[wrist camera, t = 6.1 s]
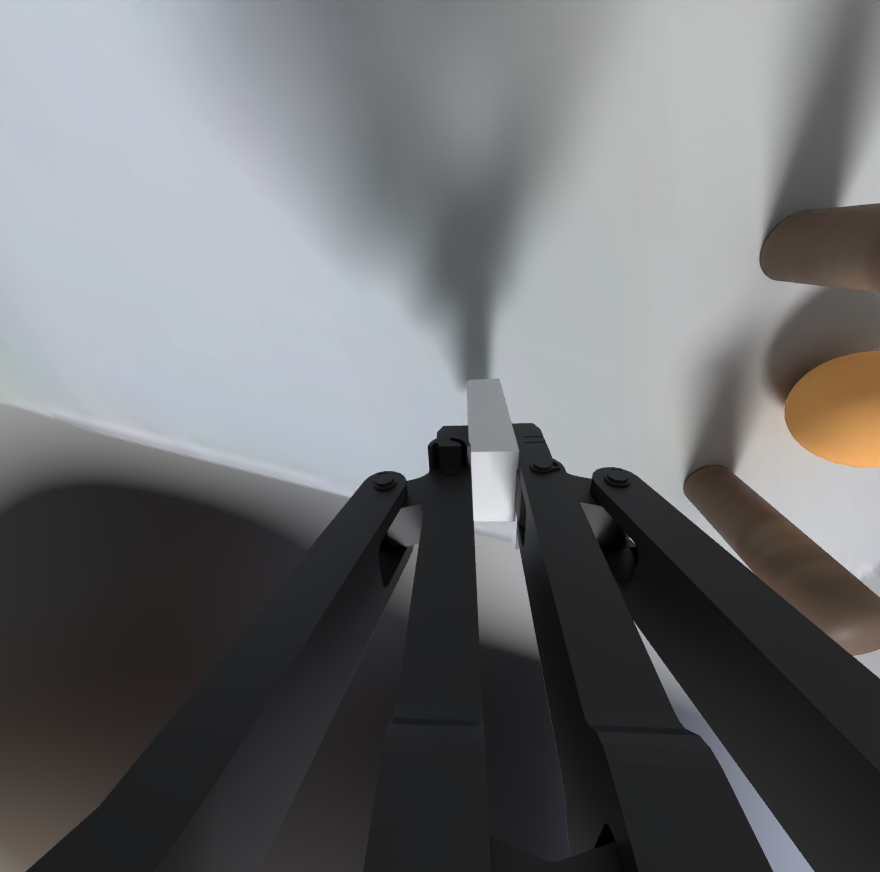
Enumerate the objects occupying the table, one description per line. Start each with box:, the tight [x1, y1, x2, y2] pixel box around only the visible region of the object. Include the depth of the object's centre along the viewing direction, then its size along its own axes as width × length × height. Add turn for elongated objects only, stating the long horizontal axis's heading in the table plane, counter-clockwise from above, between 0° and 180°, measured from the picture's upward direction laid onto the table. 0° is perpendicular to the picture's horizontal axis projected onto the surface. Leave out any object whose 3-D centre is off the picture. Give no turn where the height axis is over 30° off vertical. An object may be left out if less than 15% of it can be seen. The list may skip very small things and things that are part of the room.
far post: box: [684, 465, 880, 656], centre depth 17 cm, size 3×3×9 cm
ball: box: [785, 351, 880, 468], centre depth 16 cm, size 5×5×5 cm
